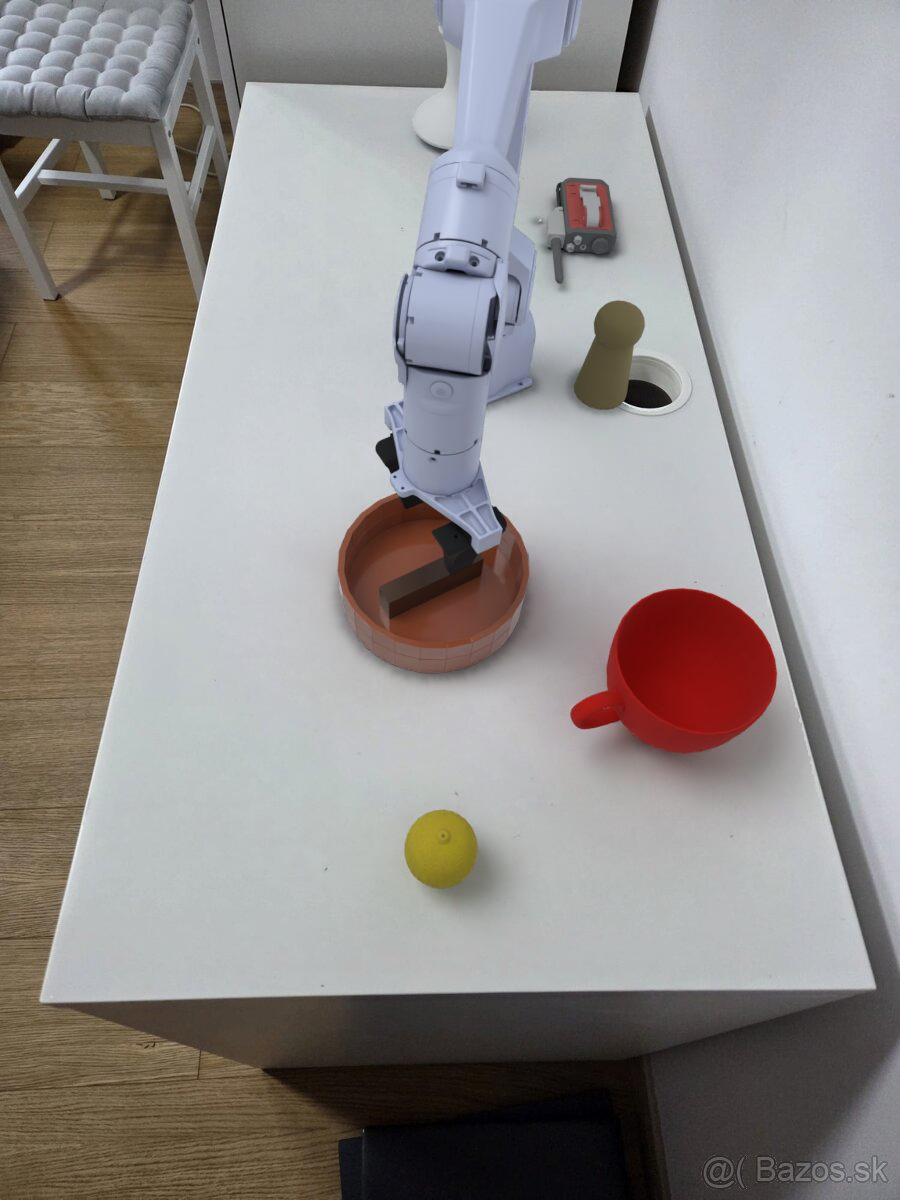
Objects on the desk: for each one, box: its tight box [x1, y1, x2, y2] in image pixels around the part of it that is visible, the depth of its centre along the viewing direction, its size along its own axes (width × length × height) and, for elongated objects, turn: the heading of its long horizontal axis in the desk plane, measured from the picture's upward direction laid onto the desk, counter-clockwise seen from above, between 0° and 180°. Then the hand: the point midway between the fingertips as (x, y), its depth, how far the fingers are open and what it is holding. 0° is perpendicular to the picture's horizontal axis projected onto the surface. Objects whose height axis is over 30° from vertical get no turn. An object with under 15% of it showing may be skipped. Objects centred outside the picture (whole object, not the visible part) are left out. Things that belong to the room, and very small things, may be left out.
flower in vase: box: [411, 23, 461, 150], centre depth 105 cm, size 13×11×25 cm
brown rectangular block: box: [379, 553, 484, 619], centre depth 75 cm, size 10×2×3 cm, turn 120°
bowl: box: [337, 492, 531, 674], centre depth 75 cm, size 17×17×5 cm
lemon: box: [403, 809, 479, 889], centre depth 61 cm, size 6×6×8 cm
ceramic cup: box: [569, 587, 778, 754], centre depth 67 cm, size 13×17×10 cm
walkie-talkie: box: [545, 177, 617, 285], centre depth 103 cm, size 9×4×20 cm
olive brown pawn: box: [573, 300, 646, 411], centre depth 87 cm, size 6×6×11 cm
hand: (436, 534), depth 69 cm, fingers open, 7 cm apart
